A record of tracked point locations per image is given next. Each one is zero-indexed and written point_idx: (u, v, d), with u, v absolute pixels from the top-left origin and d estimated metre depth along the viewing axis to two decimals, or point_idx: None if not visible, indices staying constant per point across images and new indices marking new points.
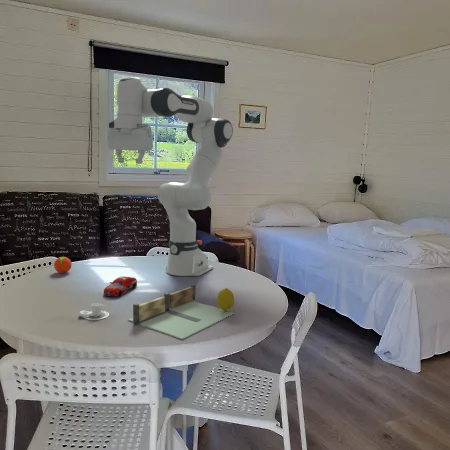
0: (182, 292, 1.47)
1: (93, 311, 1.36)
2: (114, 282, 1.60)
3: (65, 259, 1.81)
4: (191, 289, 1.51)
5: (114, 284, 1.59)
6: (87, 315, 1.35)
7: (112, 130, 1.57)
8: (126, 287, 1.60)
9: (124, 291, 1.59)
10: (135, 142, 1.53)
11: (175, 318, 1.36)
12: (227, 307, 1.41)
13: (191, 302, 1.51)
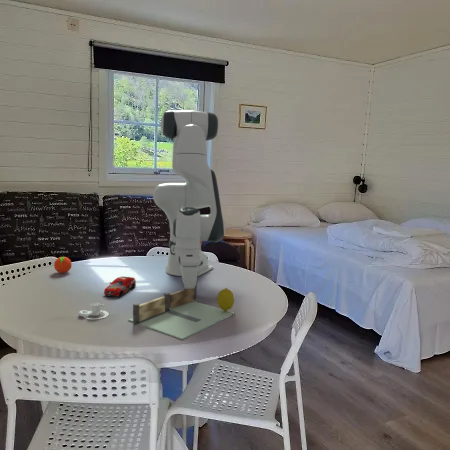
0: (182, 292, 1.47)
1: (93, 310, 1.37)
2: (114, 282, 1.60)
3: (65, 259, 1.81)
4: (192, 289, 1.51)
5: (114, 284, 1.59)
6: (87, 315, 1.36)
7: None
8: (126, 287, 1.60)
9: (124, 291, 1.59)
10: None
11: (175, 318, 1.36)
12: (226, 307, 1.41)
13: (191, 302, 1.51)
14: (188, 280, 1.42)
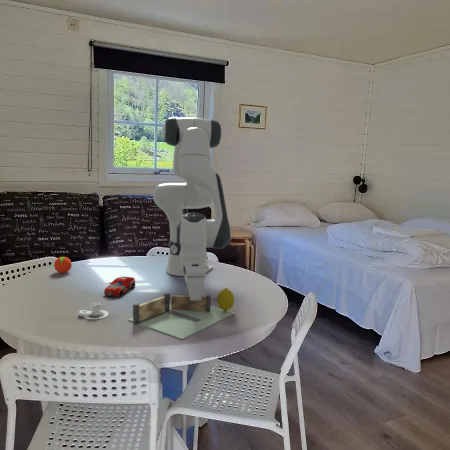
0: (188, 298, 1.41)
1: (93, 310, 1.37)
2: (114, 282, 1.60)
3: (65, 259, 1.81)
4: (203, 299, 1.41)
5: (114, 284, 1.59)
6: (86, 314, 1.36)
7: None
8: (126, 287, 1.60)
9: (124, 291, 1.59)
10: None
11: (175, 318, 1.36)
12: (226, 307, 1.41)
13: None
14: (194, 291, 1.33)
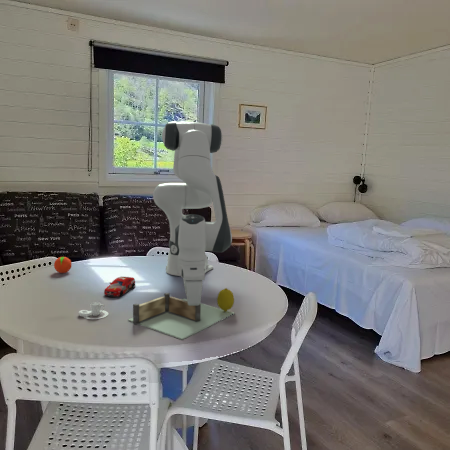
0: (181, 302, 1.37)
1: (92, 310, 1.37)
2: (114, 282, 1.60)
3: (65, 259, 1.81)
4: (192, 306, 1.34)
5: (114, 284, 1.59)
6: (86, 314, 1.36)
7: None
8: (126, 287, 1.60)
9: (124, 291, 1.59)
10: None
11: (175, 318, 1.36)
12: (226, 307, 1.41)
13: None
14: (192, 296, 1.28)
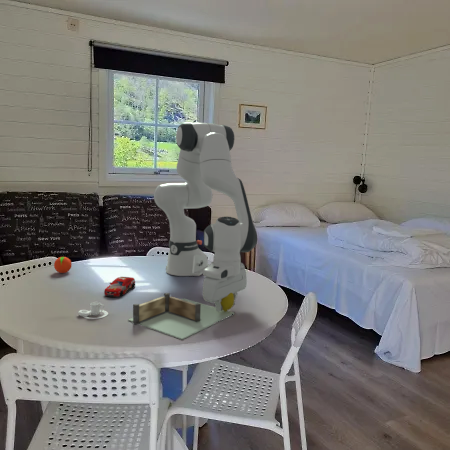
0: (181, 302, 1.37)
1: (92, 310, 1.37)
2: (114, 282, 1.59)
3: (65, 259, 1.81)
4: (192, 306, 1.34)
5: (114, 284, 1.58)
6: (86, 314, 1.36)
7: (222, 280, 1.35)
8: (126, 287, 1.60)
9: (124, 291, 1.59)
10: (238, 284, 1.45)
11: (175, 318, 1.36)
12: (226, 307, 1.41)
13: (191, 302, 1.51)
14: (206, 292, 1.34)
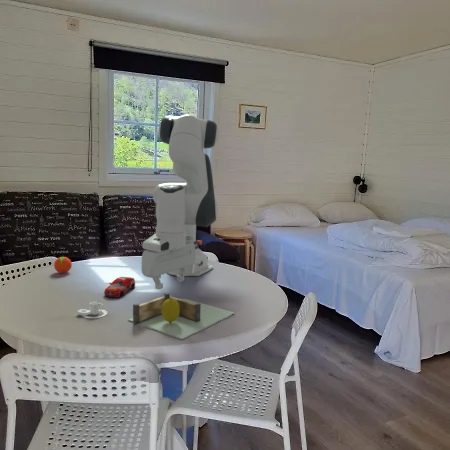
0: (181, 302, 1.37)
1: (91, 309, 1.38)
2: (114, 283, 1.59)
3: (65, 259, 1.81)
4: (192, 306, 1.34)
5: (114, 285, 1.58)
6: (85, 313, 1.36)
7: (162, 253, 1.22)
8: (126, 288, 1.60)
9: (125, 291, 1.59)
10: (185, 258, 1.32)
11: None
12: (170, 318, 1.30)
13: (191, 302, 1.51)
14: (144, 266, 1.22)
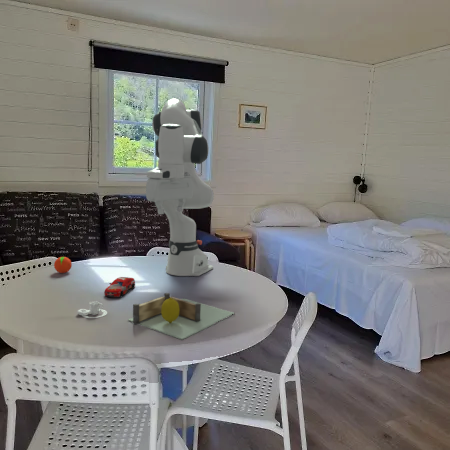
0: (181, 302, 1.37)
1: (91, 309, 1.38)
2: (114, 283, 1.59)
3: (65, 259, 1.81)
4: (192, 306, 1.34)
5: (114, 285, 1.58)
6: (85, 313, 1.37)
7: (164, 180, 1.42)
8: (126, 288, 1.59)
9: (125, 291, 1.58)
10: (184, 190, 1.52)
11: None
12: (170, 318, 1.30)
13: (191, 302, 1.51)
14: (148, 191, 1.41)
